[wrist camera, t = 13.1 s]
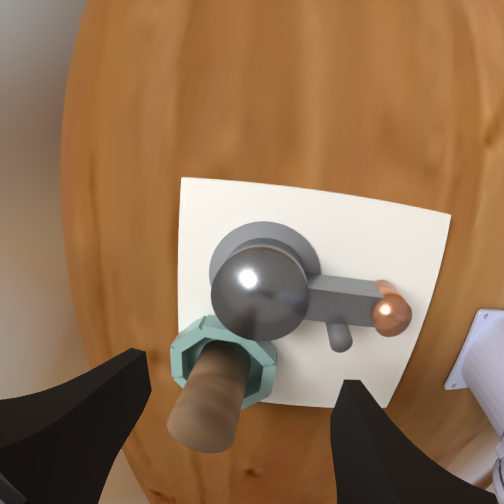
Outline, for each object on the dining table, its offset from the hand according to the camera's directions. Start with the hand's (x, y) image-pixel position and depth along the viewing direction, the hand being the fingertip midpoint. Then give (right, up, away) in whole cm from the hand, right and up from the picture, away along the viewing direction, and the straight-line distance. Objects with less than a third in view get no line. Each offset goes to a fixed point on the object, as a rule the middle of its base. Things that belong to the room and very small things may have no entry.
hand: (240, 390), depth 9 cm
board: (+4, +1, +9) cm, 10 cm away
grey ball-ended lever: (+4, +3, +8) cm, 9 cm away
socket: (-1, -2, +11) cm, 11 cm away
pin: (-1, -3, +10) cm, 10 cm away
